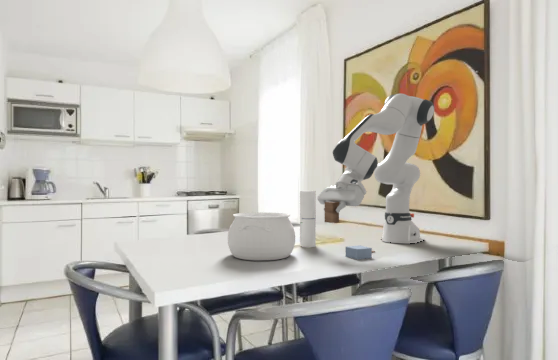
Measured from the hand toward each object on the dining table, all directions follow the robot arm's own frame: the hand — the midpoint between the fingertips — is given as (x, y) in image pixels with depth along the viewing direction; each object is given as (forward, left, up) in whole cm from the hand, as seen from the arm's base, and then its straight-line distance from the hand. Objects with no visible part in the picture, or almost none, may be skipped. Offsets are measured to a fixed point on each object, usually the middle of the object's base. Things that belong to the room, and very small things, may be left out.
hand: (330, 211), depth 148 cm
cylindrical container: (-8, -22, -18) cm, 29 cm away
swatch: (-17, +3, -17) cm, 24 cm away
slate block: (-6, +9, -18) cm, 21 cm away
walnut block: (-1, 0, -4) cm, 4 cm away
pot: (+22, -16, -18) cm, 33 cm away
